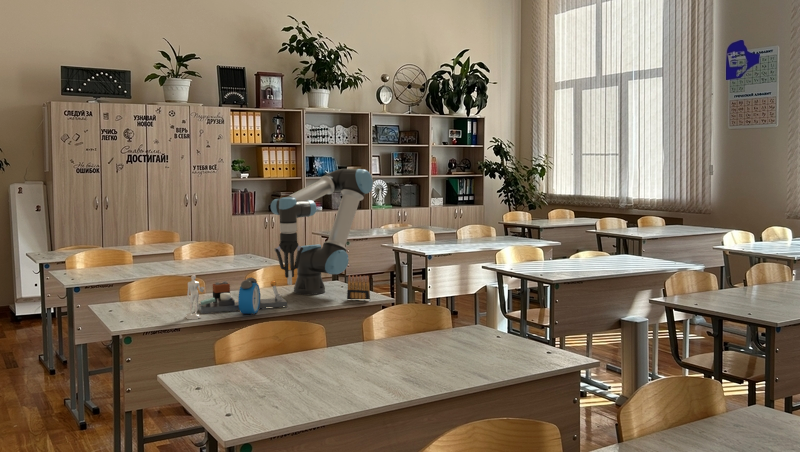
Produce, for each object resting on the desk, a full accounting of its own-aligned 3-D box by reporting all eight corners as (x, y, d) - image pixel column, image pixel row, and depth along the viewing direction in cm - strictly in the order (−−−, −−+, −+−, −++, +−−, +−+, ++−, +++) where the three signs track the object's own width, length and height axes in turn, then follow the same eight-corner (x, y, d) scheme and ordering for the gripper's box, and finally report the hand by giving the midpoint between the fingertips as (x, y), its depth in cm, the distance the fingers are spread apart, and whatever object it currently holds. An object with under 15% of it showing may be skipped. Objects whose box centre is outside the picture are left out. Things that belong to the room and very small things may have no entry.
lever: (279, 296, 330) (274, 279, 328) (280, 297, 327) (275, 280, 326) (274, 298, 329) (269, 281, 327) (275, 299, 326) (270, 282, 325)
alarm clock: (252, 317, 306) (251, 281, 304) (237, 317, 306) (237, 281, 305) (260, 310, 319) (260, 276, 317) (246, 310, 319) (246, 276, 318)
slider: (259, 298, 328) (259, 292, 328) (260, 299, 326) (260, 293, 326) (255, 299, 328) (255, 292, 327) (256, 300, 326) (256, 293, 325)
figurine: (205, 315, 309) (203, 272, 308) (206, 318, 303) (205, 275, 301) (184, 316, 307) (183, 274, 305) (185, 320, 300) (183, 276, 298)
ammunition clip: (346, 300, 341) (346, 274, 339) (348, 299, 342) (348, 274, 341) (369, 301, 338) (369, 275, 337) (370, 300, 340) (370, 275, 338)
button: (230, 299, 323) (229, 292, 322) (231, 301, 318) (231, 294, 318) (219, 299, 321) (219, 293, 321) (221, 301, 317) (221, 295, 317)
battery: (230, 303, 332) (230, 282, 331) (215, 305, 329) (215, 283, 328) (227, 302, 336) (226, 280, 335) (212, 303, 332) (212, 281, 331)
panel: (282, 303, 334) (282, 292, 333) (287, 307, 325) (287, 296, 325) (198, 309, 320) (198, 298, 320) (201, 313, 312) (200, 302, 311)
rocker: (214, 300, 320) (214, 297, 319) (215, 301, 317) (215, 298, 316) (200, 303, 318) (200, 301, 317) (201, 305, 315) (201, 302, 314)
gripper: (300, 230, 333) (302, 281, 336) (272, 232, 328) (273, 284, 331) (304, 232, 326) (306, 284, 329) (275, 234, 321) (277, 287, 324)
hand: (289, 284), depth 330 cm, fingers closed
